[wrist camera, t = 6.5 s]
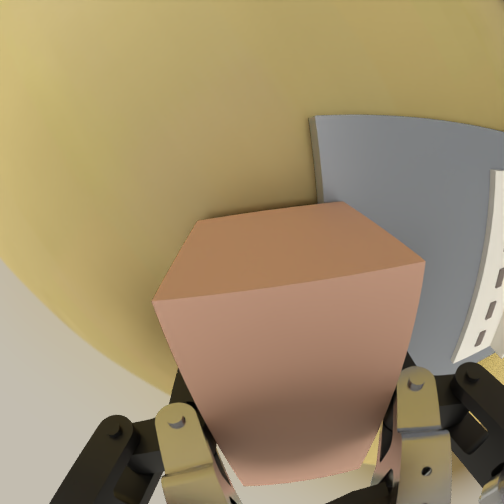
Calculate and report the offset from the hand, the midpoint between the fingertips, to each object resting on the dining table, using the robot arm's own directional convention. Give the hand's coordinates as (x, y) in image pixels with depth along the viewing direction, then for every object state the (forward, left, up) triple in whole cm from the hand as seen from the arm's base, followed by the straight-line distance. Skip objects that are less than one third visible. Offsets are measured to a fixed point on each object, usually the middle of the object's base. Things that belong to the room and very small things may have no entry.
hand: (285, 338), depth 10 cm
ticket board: (-14, 0, -2) cm, 14 cm away
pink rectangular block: (0, 0, -1) cm, 1 cm away
